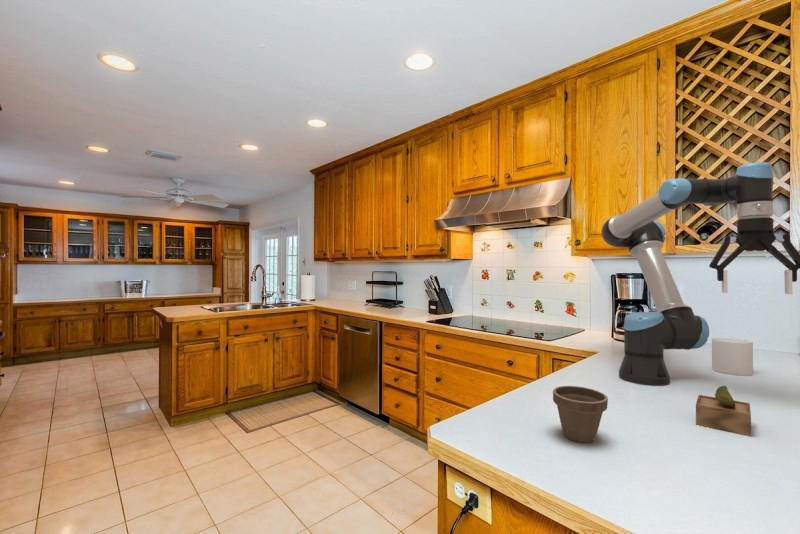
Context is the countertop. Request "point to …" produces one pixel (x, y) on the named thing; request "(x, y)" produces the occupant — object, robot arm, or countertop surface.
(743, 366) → the cup
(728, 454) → the countertop surface
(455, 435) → the countertop surface
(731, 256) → the robot arm
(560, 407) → the flower pot
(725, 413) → the walnut tray
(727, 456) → the countertop surface
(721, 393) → the lime
